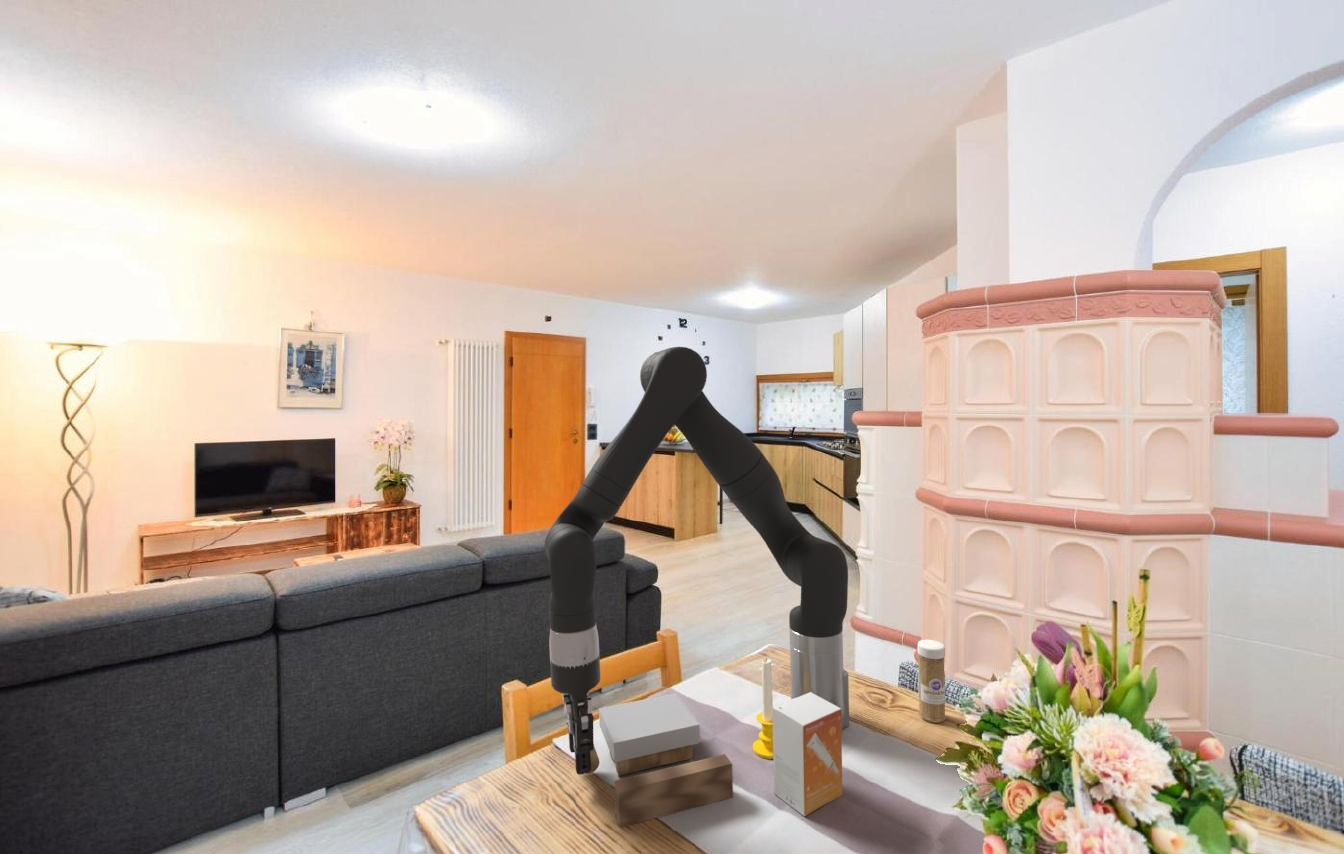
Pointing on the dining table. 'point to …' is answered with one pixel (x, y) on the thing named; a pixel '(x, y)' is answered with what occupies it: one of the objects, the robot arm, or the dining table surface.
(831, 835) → the dining table surface
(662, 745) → the slab
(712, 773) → the rail
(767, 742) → the candle
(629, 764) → the roller
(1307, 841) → the dining table surface
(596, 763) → the roller
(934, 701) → the sprinkles bottle
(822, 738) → the small box
